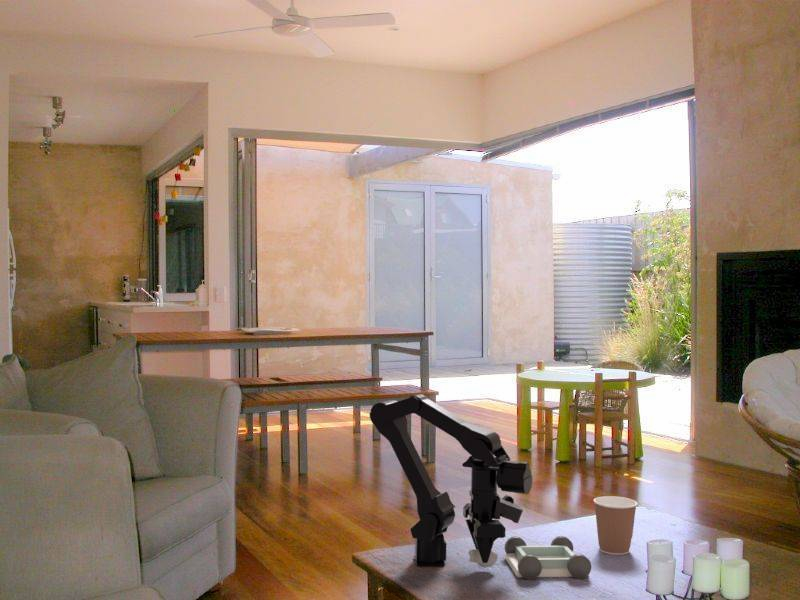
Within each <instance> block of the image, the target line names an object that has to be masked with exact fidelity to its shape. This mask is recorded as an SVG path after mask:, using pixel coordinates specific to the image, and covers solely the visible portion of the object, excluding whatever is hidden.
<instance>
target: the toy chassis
mask: <svg viewBox="0 0 800 600" xmlns="http://www.w3.org/2000/svg"><path fill="white" fill-rule="evenodd" d="M504 552H505V561H506V562H507V564H508V565H509V567H510V568H511V571H512V572H513V573H514V575H515V577H517V578H524V579H526V580H531V581H532V580H534V579H537V578H564V577H565V578H566V577H567V578H568V577H571V578H575V579H578V580H582V579H585V578H587V577H590V573H591V571H592V563H591V561H590V559H589V558H588V557H587V556H585V554H582V553H574V544H573V543H572V540H570V539H569V538H568V537H567V536H564V535H559V536H556V537H555V538H553V539H552V541H551V544H550V545H527V543H526V542H525V540H524V539H523V538H521V536H516V535H515V536H511V537H509V538H508V539H507V540H506V541H505V543H504Z"/></svg>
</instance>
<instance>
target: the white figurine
mask: <svg viewBox="0 0 800 600" xmlns="http://www.w3.org/2000/svg"><path fill="white" fill-rule="evenodd" d="M494 545H495V543H493V546H494ZM493 546H492V549H491V553H490V556H489V560H488V562H487V563H483V562H482V559H481V556H480V553H479V550H478V549H476V548H475V549H470V550H468V555H469V559H468V560H469V562H470V563H476V564H477V566H479V567H481V568H491V567H493V566H494V565H495V564H496V563H497V561H498V554H497V553H496V552H495V551H494V550H493Z"/></svg>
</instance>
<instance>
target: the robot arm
mask: <svg viewBox="0 0 800 600" xmlns="http://www.w3.org/2000/svg"><path fill="white" fill-rule="evenodd" d="M412 414H415V415H417V416H418V417H420V418H422V419H423V420H425V421H427V422H428V423H430V424H431V425H432V426H434V427H436V428H438V429H439V430H441V431H442V432H444V433H446V434H447V435H449V436H451V437H452V438H454V439H455V440H456V441H457V442H458V443H459V445H461V447H462V449H463V450H464V451H466V452H467V453H468V454H469V455H470V456H469V457H468V458H467V459H466V461H464V462H463V463H462V467H464V468H471V470H470V471H471V477H470V490H469V491H468V493H469V494H468V495H469V497H470V502H466V504H465V505H464V506H463V507H462V511H463V512H462V515H463V517H464V518H465V523H466V525H467V529H468V531H469V534H470V537H471V539H472V542H473V544H474V549H475V550H476V549H478V550H479V553H480V556H481V559H482V562H483V563H487V562H488V560H489V556H490V553H491V550H493V548H492V546H494V545H493V543H494V542H495V541H497V540H498V539H504V538H506V527H505V526H504V525H503V523H502V522H501V521H500V520H501V518H504V519H506V520H509V521H512V522H513V523H514V524H519V522H520V519H521V516H522V514H523V508H522V506H520V505H519V504H517V503H515V501H514V498H513V496H511V495H508V494H505V495H504V496H503V497H501V496H500V495H499V494H498V489H500V490H501V492H506V493H515V494H521V495H529V494H530V492H531V489H532V485H533V475H532V471H531V468H530V462H528V461H512V460H511V458H510V456H509V455H508V453H507V451H506V450H505V448H504V446H503V445H502V441H501V437H500V435H499V434H498V433H497V432H496V431H494V430H491V429H489V428H487V427H484V426H480V425H476V424H472V423H470V422H467V421H466V420H464V419H462V418H461V417H459V416H458V415H455V414H454V413H452V412H451V411H449V410H447V409H446V408H444V407H442V406H441V405H440V404H437V403H436V402H435V401H432V400H431V399H429V398H428V397H427V396H426V395H424V394H423V393H420V394H415V395H411V396H410V397H408V398H405V399H401V400H398V401H397V400H395V399H389V400H385V401H380V402H378V403H375V404H373V406H372V407H371V409H370V412H369V418H370V421H371V423H372V425H373V426H374V427H375V429H376V430H377V432H378V433H379V434H380V435H381V436H383V437H384V439H386V440H387V441H388V443H389V444H390V445H391V448H392V450H393V451H394V455H395V456H396V458H397V460H398V462H399V465H400V466H401V469H402V470H403V472H404V474H405V476H406V479H407V481H408V482H409V485H410V488H411V489H412V491H413V493H414V495H415V498H416V510H417V514H418V517H419V520H418V521H417V522H416V523H415V524H414V525H413V526H412V527H411V528H410V534H411V536H412V538H413V539H414V541H415V542H414V555H413V558H414V562H415V565H416V566H418V567H437V566H439V567H443V566H445V565H446V561H447V541H446V540H445V536H444V533H446V532H447V531H448V528H449V526H451V525H452V524H453V523H454V521H455V518H456V512H455V508H456V505H454V503H453V502H452V501H451V498H450V495H449V493H448V491H445V492H444V491H443V492H440V491H439V490H438V489H437V488H436V486H435V485H434V483H433V481H432V479H431V477H430V475H429V472H428V471H427V469H426V467H425V465H424V463H423V461H422V459H421V457H420V455H419V453H418V450H417V449H416V446H415V445H414V443H413V441H412V438H411V437H410V436H411V435H409V432H408V419H407V416H408V415H412ZM494 544H495V543H494Z"/></svg>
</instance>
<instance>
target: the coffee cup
mask: <svg viewBox="0 0 800 600" xmlns="http://www.w3.org/2000/svg"><path fill="white" fill-rule="evenodd" d="M593 503H594V509H595V518H596V520H595V521H596V530H597V541H598V542H597V543H598V547H599V550H600V552H602V553H603V554H607V555H615V556H624V555H627V554H629V553H630V549H631V545H632V539H633V534H634V528H635V527H634V525H635V515H636V510H637V506H638V502H637V501H636V500H634V499H632V498H628V497H623V496H615V495H614V496H612V495H611V496H610V495H604V496H599V497H595V498H593Z"/></svg>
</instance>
